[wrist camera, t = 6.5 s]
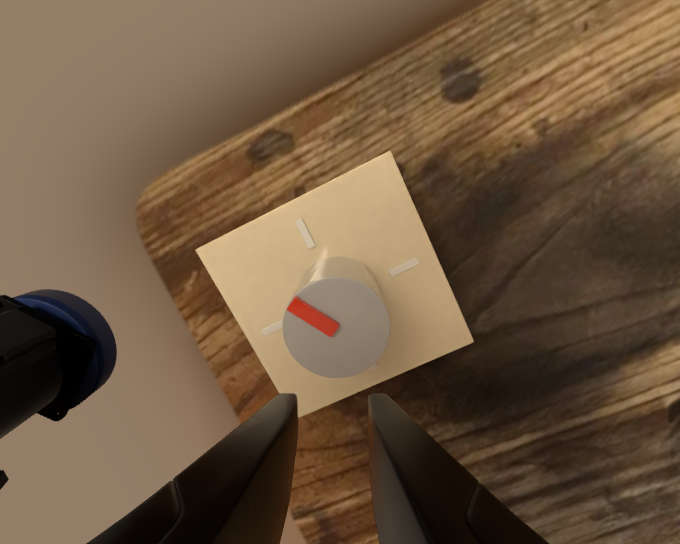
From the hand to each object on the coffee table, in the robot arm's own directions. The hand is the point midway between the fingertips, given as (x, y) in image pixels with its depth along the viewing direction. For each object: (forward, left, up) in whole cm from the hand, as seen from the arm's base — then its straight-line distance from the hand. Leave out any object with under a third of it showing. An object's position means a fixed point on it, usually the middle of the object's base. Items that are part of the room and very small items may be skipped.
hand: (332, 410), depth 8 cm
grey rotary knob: (0, 0, -9) cm, 9 cm away
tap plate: (0, 0, -12) cm, 12 cm away
